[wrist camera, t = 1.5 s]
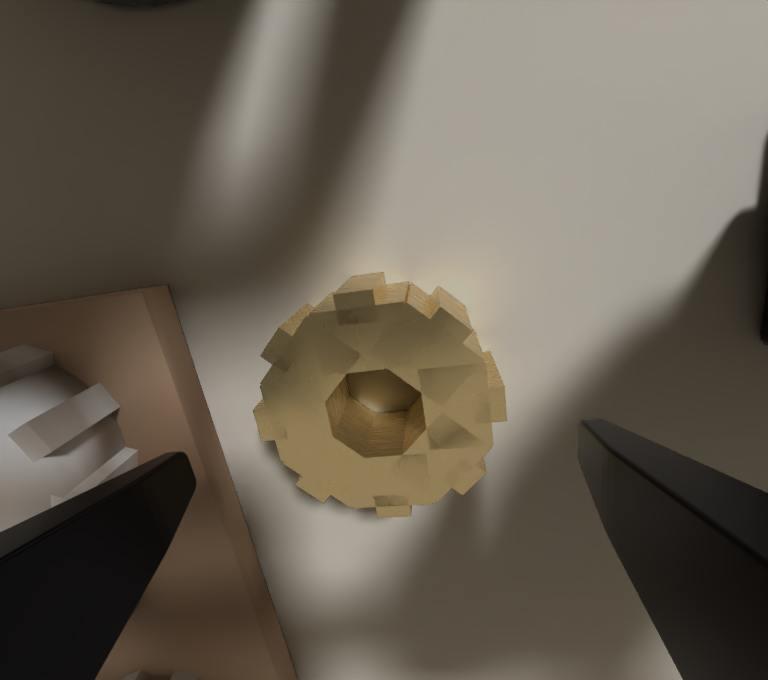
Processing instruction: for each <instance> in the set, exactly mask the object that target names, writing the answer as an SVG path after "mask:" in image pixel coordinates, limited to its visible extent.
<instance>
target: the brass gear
mask: <svg viewBox="0 0 768 680" xmlns="http://www.w3.org/2000/svg"><path fill="white" fill-rule="evenodd" d="M260 356H261V357H262V358H264V359H265V360H267V361H268V362H270V363H271V364H273V365H272V367H271V368H270V370H269V371H268V373H267V374H266V376H265V377H264V379H263V380H262V381H261V383H260V384H261V385H260V389H261V392H262V396H263V399H262V400H261V401H260V402H259V403H258V405H257V406H256V407H255V408H254V409H253V413H254V416H255V420H256V423H257V427H258V430H259V434H260V437H261V440H262V441H271V440H275V442H276V446H277V449H278V453H279V456H280V460H281V461H283V464H285V465H286V466H288V467H289V468H291V469H292V470H294V471H295V472H297V473H298V474H300V476H299V478H298V480H297V483H296V486H298V487H299V488H301V489H302V490H304V491H306V492H307V493H309V494H310V495H312V496H313V497H315V498H316V499H318V500H319V501H321V502H322V503H324V502H325V501H326V499H327V498H328V497H329V496H330V495H332V496H333V497H335V498H336V499H338V500H339V501H341V502H342V503H344V504H345V505H347V506H348V507H351V506H352V508H367V507H376V511H377V516H378V518H387V517H408V516H411V513H412V505H424V504H434V502H435V503H436V502H438V501H439V500H440V499H441V498H442V497H443V496H444V495H445V494H446V493H447V492H448V491H449V490H450V489H451V488H453V489H454V490H456V491H457V492H459V493H460V494H461V495H464V494H465V493H466V492H467V491H468V490H469V489H470V488H471V487H472V486H473V485H474V484H475V483H476V482H477V481H478V480H479V479H480V478H481V477H483V476H484V475H485V474H486V468H485V464H484V459H483V456H484V455H485V454H487V453H488V452H489V451H490V450H491V449H492V446H493V437H492V425H491V422H503V421H507V414H506V400H505V386H504V384H503V381H502V379H501V376H500V374H499V372H498V369H497V367H496V364H495V362H494V359H493V357H492V355H491V352H490V351H489V352H482V349H481V347H480V344H479V341H478V338H477V335H476V333H475V331H474V329H473V328H472V326H471V323H470V321H469V318H468V315H467V312H466V309H465V306H464V305H463V304H461V303H460V302H459V301H457V300H456V299H455V298H453V297H452V296H451V295H449V294H448V293H447V292H445V291H444V290H443V289H441V288H440V287H439V286H438V287H437V288H436V290H435V291H434V292H433V293H432V295H431V296H429V295H427V294H426V293H425V292H423V291H422V290H421V289H419V288H418V287H417V286H415V285H414V284H413V283H411V284H410V285H409V282H405V283H398V284H391V285H386V282H385V276H384V272H381V273H374V274H367V275H360V276H353V277H351V278H350V279H349V280H347V281H346V282H345V283H344V284H343V285H342V286H341V287H340V288H339V289H338V290H337V291H336V292H333V293H331V294H329V295H328V296H327V297H326V298H325V299H324V300H323V301H322V302H320V303H319V304H318V305H317V306H316V307H315V308H313V307H311V306H310V305H308V304H307V305H305V306H304V307H303V308H302V309H300V310H299V311H298V312H297V313H296V314H294V315H293V316H292V317H291V318H290V319H288V320H287V321H286V322H285V323H284V324H282V325H281V326H280V327H279V328H278V330H277V331H276V333H275V334H274V336H273V337H272V339H271V340H270V342H269V343H268V345H267V346H266V348H265V349H264V351H263V352H262V354H261V355H260ZM383 369H388V370H390V371H391V372H393V373H394V374H395V375H397V376H398V377H400V378H401V379H402V380H404V381H405V382H407V383H408V384H409V385H411V386H412V387H414V388H415V389H416V390H418V391H419V392H421V395H420V397H419V398H418V399H417V400H416V401H415V402H414V403H413V405H412V406H411V407H410V408H409V409H408V410H407V411H399V412H388V413H374V412H373V411H371V410H370V409H368V408H367V407H366V406H364V405H363V404H361V403H360V402H358V401H357V400H355V399H354V398H353V397H351V396H350V394H349V389H348V384H347V380H346V374H347V373H355V372H364V371H374V370H383Z"/></svg>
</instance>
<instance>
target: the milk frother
mask: <svg viewBox="0 0 768 680" xmlns="http://www.w3.org/2000/svg"><path fill="white" fill-rule="evenodd" d="M95 1H98V2H102V3H106V4H114V5H119V6H130V7H135V6H149V5H157V4H162V3H166V2H170V1H173V0H95Z"/></svg>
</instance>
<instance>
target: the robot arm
mask: <svg viewBox="0 0 768 680" xmlns="http://www.w3.org/2000/svg"><path fill="white" fill-rule="evenodd" d="M760 335H761V340H762V342H763V343H764V344H765V345H767V346H768V274H767V289H766V296H765V303H764V310H763V318H762V325H761V332H760ZM578 458H579V463H580V466H581V469H582V472H583V474H584V477H585V479H586V482H587V484H588V487H589V490H590V492H591V495H592V497H593V500H594V503H595V505H596V508H597V510H598V513H599V516H600V518H601V521H602V523H603V526H604V528H605V531H606V533H607V535H608V537H609V539H610V541H611V543H612V545H613V547H614V549H615V551H616V553H617V555H618V557H619V559H620V560H621V562H622V564H623V566H624V568H625V570H626V572H627V574H628V576H629V578H630V580H631V581H632V583H633V585H634V587H635V589H636V591H637V593H638V595H639V597H640V599H641V601H642V602H643V604H644V606H645V608H646V610H647V612H648V614H649V616H650V618H651V620H652V622H653V623H654V625H655V627H656V629H657V631H658V633H659V635H660V637H661V639H662V641H663V643H664V644H665V646H666V648H667V650H668V652H669V654H670V656H671V658H672V660H673V662H674V664H675V665H676V667H677V669H678V671H679V673H680V675H681V677H682V679H683V680H768V493H766V492H764V491H762V490H759V489H757V488H755V487H753V486H751V485H748V484H746V483H744V482H742V481H739V480H737V479H735V478H733V477H730V476H728V475H726V474H724V473H722V472H719V471H717V470H715V469H713V468H710V467H708V466H706V465H704V464H701V463H699V462H697V461H695V460H693V459H690V458H688V457H686V456H684V455H681V454H679V453H677V452H675V451H672V450H670V449H668V448H666V447H664V446H661V445H659V444H657V443H655V442H652V441H650V440H648V439H646V438H643V437H641V436H639V435H637V434H635V433H632V432H630V431H628V430H626V429H623V428H621V427H619V426H617V425H614V424H612V423H610V422H608V421H606V420H603V419H601V418H593V419H583V420H580V421H579V423H578ZM196 484H197V482H196V477H195V474H194V472H193V469H192V466H191V463H190V461H189V458H188V456H187V454H186V453H185V452H182V451H177V452H167V453H164V454H162V455H160V456H158V457H156V458H154V459H152V460H150V461H148V462H146V463H144V464H142V465H139V466H137V467H135V468H133V469H131V470H129V471H127V472H125V473H123V474H121V475H119V476H116V477H114V478H112V479H110V480H108V481H106V482H104V483H102V484H100V485H98V486H96V487H93V488H91V489H89V490H87V491H85V492H83V493H81V494H79V495H77V496H75V497H73V498H71V499H68V500H66V501H64V502H62V503H60V504H58V505H56V506H54V507H52V508H50V509H48V510H45V511H43V512H41V513H39V514H37V515H35V516H33V517H31V518H29V519H27V520H25V521H22V522H20V523H18V524H16V525H14V526H12V527H10V528H8V529H6V530H4V531H2V532H0V680H95V679H96V677H97V675H98V674H99V672H100V670H101V668H102V666H103V665H104V663H105V661H106V659H107V658H108V656H109V654H110V652H111V651H112V649H113V647H114V645H115V643H116V642H117V640H118V638H119V636H120V635H121V633H122V631H123V629H124V627H125V626H126V624H127V622H128V620H129V619H130V617H131V615H132V613H133V612H134V610H135V608H136V606H137V604H138V603H139V601H140V599H141V597H142V596H143V594H144V592H145V590H146V588H147V587H148V585H149V583H150V581H151V580H152V578H153V576H154V574H155V573H156V571H157V569H158V567H159V565H160V564H161V562H162V560H163V558H164V556H165V555H166V553H167V551H168V549H169V547H170V545H171V543H172V541H173V538H174V536H175V534H176V532H177V530H178V527H179V525H180V523H181V521H182V519H183V516H184V514H185V512H186V510H187V508H188V505H189V503H190V501H191V499H192V497H193V494H194V492H195V490H196Z"/></svg>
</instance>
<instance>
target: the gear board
mask: <svg viewBox="0 0 768 680" xmlns="http://www.w3.org/2000/svg"><path fill="white" fill-rule="evenodd" d="M177 451H182V452H185V453H186V454H187V456H188V458H189V461H190V463H191V466H192V469H193V472H194V474H195V477H196V482H197V484H196V490H195V492H194V494H193V497H192V499H191V501H190V503H189V505H188V508H187V510H186V512H185V514H184V516H183V519H182V521H181V523H180V525H179V527H178V530H177V532H176V534H175V536H174V538H173V541H172V543H171V545H170V547H169V549H168V551H167V553H166V555H165V556H164V558H163V560H162V562H161V564H160V565H159V567H158V569H157V571H156V573H155V574H154V576H153V578H152V580H151V581H150V583H149V585H148V587H147V588H146V590H145V592H144V594H143V596H142V597H141V599H140V601H139V603H138V604H137V606H136V608H135V610H134V612H133V613H132V615H131V617H130V619H129V620H128V622H127V624H126V626H125V627H124V629H123V631H122V633H121V635H120V636H119V638H118V640H117V642H116V643H115V645H114V647H113V649H112V651H111V652H110V654H109V656H108V658H107V659H106V661H105V663H104V665H103V666H102V668H101V670H100V672H99V674H98V675H97V677H96V679H95V680H298V679H297V676H296V673H295V670H294V667H293V664H292V661H291V657H290V654H289V651H288V648H287V645H286V642H285V639H284V636H283V633H282V630H281V627H280V624H279V621H278V618H277V615H276V612H275V609H274V606H273V603H272V600H271V597H270V594H269V591H268V588H267V585H266V582H265V579H264V576H263V573H262V570H261V567H260V564H259V561H258V558H257V555H256V552H255V549H254V546H253V543H252V539H251V536H250V533H249V530H248V527H247V524H246V521H245V518H244V515H243V512H242V509H241V506H240V503H239V500H238V497H237V494H236V491H235V488H234V485H233V482H232V479H231V476H230V473H229V470H228V467H227V464H226V461H225V458H224V455H223V452H222V449H221V446H220V443H219V440H218V437H217V434H216V431H215V428H214V425H213V422H212V418H211V415H210V412H209V409H208V406H207V403H206V400H205V397H204V394H203V391H202V388H201V385H200V382H199V379H198V376H197V373H196V370H195V367H194V364H193V361H192V358H191V355H190V352H189V349H188V346H187V343H186V340H185V337H184V334H183V331H182V328H181V325H180V322H179V319H178V316H177V313H176V310H175V307H174V304H173V301H172V297H171V294H170V291H169V288H168V285H167V284H166V285H159V286H153V287H146V288H139V289H133V290H126V291H120V292H113V293H107V294H100V295H93V296H87V297H80V298H74V299H67V300H60V301H54V302H47V303H41V304H34V305H27V306H21V307H14V308H8V309H1V310H0V532H2V531H4V530H6V529H8V528H10V527H12V526H14V525H16V524H18V523H20V522H22V521H25V520H27V519H29V518H31V517H33V516H35V515H37V514H39V513H41V512H43V511H45V510H48V509H50V508H52V507H54V506H56V505H58V504H60V503H62V502H64V501H66V500H68V499H71V498H73V497H75V496H77V495H79V494H81V493H83V492H85V491H87V490H89V489H91V488H93V487H96V486H98V485H100V484H102V483H104V482H106V481H108V480H110V479H112V478H114V477H116V476H119V475H121V474H123V473H125V472H127V471H129V470H131V469H133V468H135V467H137V466H139V465H142V464H144V463H146V462H148V461H150V460H152V459H154V458H156V457H158V456H160V455H162V454H164V453H167V452H177Z"/></svg>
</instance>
